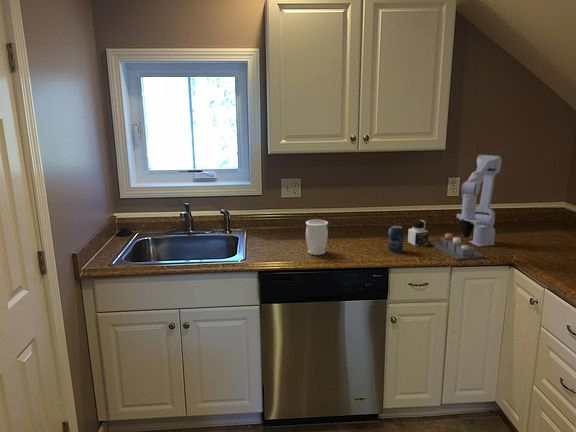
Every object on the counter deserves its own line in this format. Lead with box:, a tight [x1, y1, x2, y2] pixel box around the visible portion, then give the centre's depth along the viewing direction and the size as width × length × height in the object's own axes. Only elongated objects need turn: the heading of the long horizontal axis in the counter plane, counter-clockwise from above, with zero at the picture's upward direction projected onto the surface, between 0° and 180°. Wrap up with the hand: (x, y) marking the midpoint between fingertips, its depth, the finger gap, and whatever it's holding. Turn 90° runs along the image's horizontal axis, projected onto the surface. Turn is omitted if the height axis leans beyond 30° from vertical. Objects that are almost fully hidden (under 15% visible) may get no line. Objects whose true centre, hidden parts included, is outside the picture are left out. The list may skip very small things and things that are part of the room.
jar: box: [305, 219, 329, 256], centre depth 212 cm, size 11×10×15 cm
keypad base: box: [429, 236, 486, 261], centre depth 213 cm, size 14×24×4 cm, turn 12°
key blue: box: [461, 244, 471, 249], centre depth 206 cm, size 4×4×3 cm
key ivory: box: [453, 237, 462, 245], centre depth 213 cm, size 4×4×3 cm
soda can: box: [387, 224, 405, 254], centre depth 213 cm, size 7×7×12 cm
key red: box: [444, 232, 454, 240], centre depth 219 cm, size 4×4×3 cm
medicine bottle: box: [407, 219, 429, 247], centre depth 224 cm, size 7×7×12 cm
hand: (466, 237), depth 205 cm, fingers closed
